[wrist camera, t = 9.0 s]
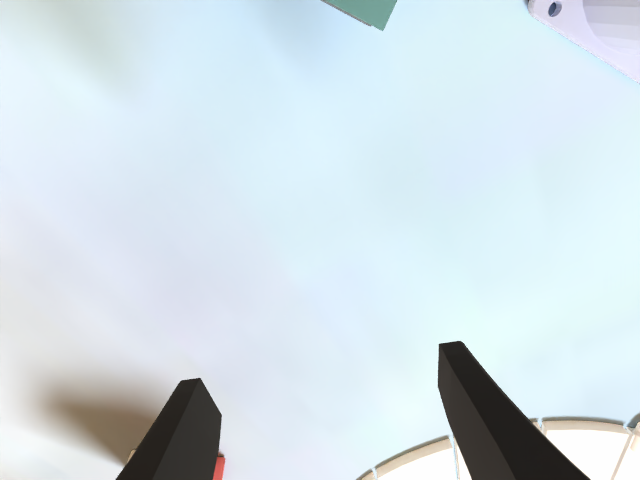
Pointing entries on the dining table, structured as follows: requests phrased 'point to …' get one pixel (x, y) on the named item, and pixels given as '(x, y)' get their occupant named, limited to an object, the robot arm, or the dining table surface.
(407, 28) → the dining table surface
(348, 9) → the stand
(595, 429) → the lazy susan
